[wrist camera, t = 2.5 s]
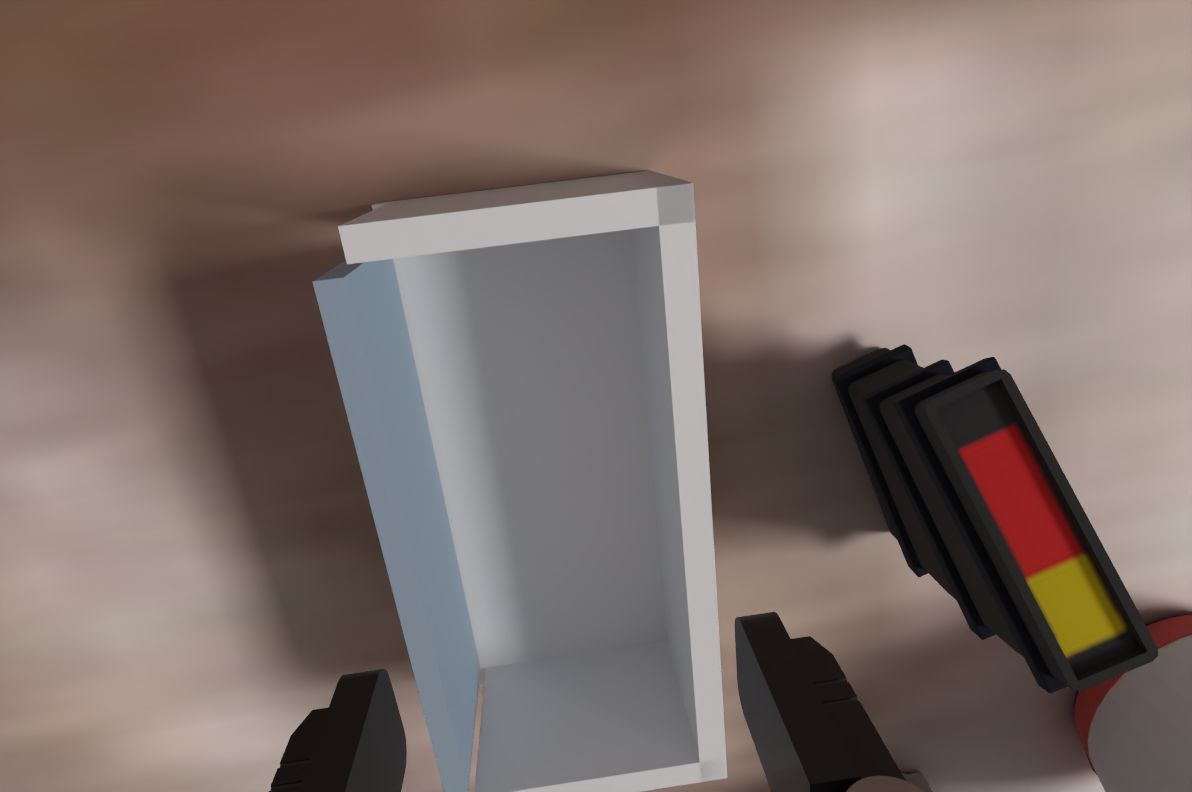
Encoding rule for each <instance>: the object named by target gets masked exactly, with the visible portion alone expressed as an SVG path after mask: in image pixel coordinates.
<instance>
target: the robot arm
mask: <svg viewBox="0 0 1192 792" xmlns="http://www.w3.org/2000/svg"><path fill="white" fill-rule="evenodd" d="M735 641H736V661H737V681H738V690H739V696H740V701H741V705H742V709H743V713H744V716H745V719H746V722H747V725H748V728H749V730H750V733H751V736H752V739H753V741H754V744H755V747H756V750H757V752H758V755H759V758H760V761H761V763H762V766H763V769H764V772H765V774H766V777H767V780H768V783H769V785H770V788H771V791H772V792H932V790H931V788H930V787H929V785H928V783H927V782H926V780H925V778H924V777H923V775H922V774H921V773H912V774H904V773H901V772H900V770H899V769H898V767H897V765H896V763H895V762H894V760H893V758H892V756H891V755H890V753H889V751H888V750H887V748H886V746H885V744H884V743H883V741H882V739H881V737H880V736H879V734H878V732H877V730H876V729H875V727H874V725H873V724H872V722H871V720H870V718H869V717H868V715H867V713H866V711H865V710H864V708H863V706H862V704H861V703H860V701H859V702H858V700H857V696H856V694H855V692H854V691H853V689H852V687H851V685H850V684H849V682H847V681H846V677H845V675H844V673H843V672H842V670H841V668H840V666H839V665H838V663H837V661H836V659H835V658H834V656H833V654H831V653H830V652H829V651H828V650H826V649H825V648H824V647H823V646H821V645H820V644H819V643H818V642H816V641H815V640H814V639H813V638H811V637H810V636H809V637H802V638H796V639H790V637H789V635H788V633H787V631H786V629H785V627H784V625H783V623H782V622H781V620H780V618H779V616H778V614H777V613H776V612H770V613H764V614H757V615H750V616H743V617H737V618H736V619H735ZM405 768H406V738H405V732H404V728H403V724H402V721H401V717H400V714H399V710H398V706H397V703H396V699H395V696H394V692H393V688H392V685H391V681H390V678H389V675H388V673H387V671H386V670H385V669H380V670H374V671H367V672H360V673H354V674H347V675H343V676H342V677H341V678H340V679H339V681H338V684H337V687H336V689H335V692H334V695H333V698H332V701H331V703H330V706H329V708H323V709H317V710H312V711H311V713H310V714H309V715H308V716H307V717H306V718H305V720H304V721H303V722H302V723H301V724H300V726H299V727H298V728H297V729H296V730H295V732H294V733H293V734H292V735H291V737H290V740H289V742H288V745H287V747H286V749H285V752H284V754H283V757H282V759H281V762H280V768H278V769H277V772H276V774H275V777H274V779H273V782H272V784H271V791H269V792H401V788H402V783H403V778H404V773H405Z"/></svg>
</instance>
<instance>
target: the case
mask: <svg viewBox="0 0 1192 792" xmlns="http://www.w3.org/2000/svg"><path fill="white" fill-rule="evenodd" d="M371 206H372V211H370V212H368V213H366V214H364V215H362V216H359V217H357V218H355V219H353V220H351V221H348V222H346V223H344V224H342V225H340V226H338V229H339V233H340V237H341V241H342V246H343V250H344V254H345V258H346V262H347V264H354V263H363V262H371V261H379V260H387V259H393V262H394V266H395V271H396V276H397V281H398V285H399V290H400V295H401V299H402V304H403V309H404V313H405V318H406V323H407V327H408V332H409V337H410V341H411V346H412V351H413V355H414V360H415V365H416V369H417V374H418V379H419V383H420V388H421V393H422V397H423V402H424V407H425V411H426V416H427V421H428V425H429V430H430V435H431V439H432V444H433V449H434V453H435V458H436V463H437V467H438V472H439V477H440V481H441V486H442V491H443V495H444V500H445V505H446V509H447V514H448V519H449V523H450V528H451V533H452V537H453V542H454V547H455V551H456V556H457V561H458V565H459V570H460V575H461V579H462V584H463V589H464V593H465V598H466V603H467V607H468V612H469V617H470V621H471V626H472V631H473V635H474V640H475V645H476V649H477V654H478V659H479V664H480V677H479V686H484V693H483V704H482V715H481V726H480V737H479V749H478V760H477V771H476V782H475V792H641V791H647V790H654V789H660V788H667V787H673V786H679V785H686V784H692V783H699V782H705V781H711V780H718V779H724V778H727V765H726V747H725V730H724V712H723V695H722V678H721V660H720V643H719V625H718V608H717V590H716V573H715V556H714V538H713V521H712V503H711V486H710V468H709V451H708V433H707V416H706V399H705V381H704V364H703V346H702V329H701V311H700V294H699V277H698V259H697V242H696V224H695V207H694V189H693V183H691V182H688V181H684V180H681V179H677V178H674V177H671V176H667V175H664V174H660V173H657V172H653V171H650V170H648V171H640V172H631V173H623V174H615V175H606V176H598V177H590V178H582V179H573V180H565V181H557V182H548V183H540V184H532V185H524V186H515V187H507V188H499V189H490V190H482V191H474V192H466V193H457V194H449V195H441V196H432V197H424V198H416V199H407V200H399V201H391V202H383V203H376V204H373V205H371Z"/></svg>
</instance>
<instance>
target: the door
mask: <svg viewBox="0 0 1192 792" xmlns="http://www.w3.org/2000/svg"><path fill="white" fill-rule="evenodd" d="M312 282H313V286H314V290H315V293H316V297H317V301H318V305H319V309H320V313H321V317H322V321H323V324H324V328H325V332H326V336H327V340H328V344H329V348H330V352H331V355H332V359H333V363H334V367H335V371H336V375H337V379H338V382H339V386H340V390H341V394H342V398H343V402H344V406H345V410H346V413H347V417H348V421H349V425H350V429H351V433H352V437H353V440H354V444H355V448H356V452H357V456H358V460H359V464H360V468H361V471H362V475H363V479H364V483H365V487H366V491H367V495H368V499H369V502H370V506H371V510H372V514H373V518H374V522H375V526H376V529H377V533H378V537H379V541H380V545H381V549H382V553H383V557H384V560H385V564H386V568H387V572H388V576H389V580H390V584H391V587H392V591H393V595H394V599H395V603H396V607H397V611H398V615H399V618H400V622H401V626H402V630H403V634H404V638H405V642H406V646H407V649H408V653H409V657H410V661H411V665H412V669H413V673H414V676H415V680H416V684H417V688H418V692H419V696H420V700H421V704H422V707H423V711H424V715H425V719H426V723H427V727H428V731H429V734H430V738H431V742H432V746H433V750H434V754H435V758H436V762H437V765H438V769H439V773H440V777H441V781H442V785H443V789H444V792H468V786H469V776H470V766H471V756H472V746H473V736H474V727H475V717H476V707H477V697H478V687H479V677H480V664H479V659H478V654H477V649H476V645H475V640H474V635H473V631H472V626H471V621H470V617H469V612H468V607H467V603H466V598H465V593H464V589H463V584H462V579H461V575H460V570H459V565H458V561H457V556H456V551H455V547H454V542H453V537H452V533H451V528H450V523H449V519H448V514H447V509H446V505H445V500H444V495H443V491H442V486H441V481H440V477H439V472H438V467H437V463H436V458H435V453H434V449H433V444H432V439H431V435H430V430H429V425H428V421H427V416H426V411H425V407H424V402H423V397H422V393H421V388H420V383H419V379H418V374H417V369H416V365H415V360H414V355H413V351H412V346H411V341H410V337H409V332H408V327H407V323H406V318H405V313H404V309H403V304H402V299H401V295H400V290H399V285H398V281H397V276H396V271H395V266H394V262H393V259H387V260H379V261H371V262H363V263H354V264H347V262H346V260H344V261H343V262H341V263H340V264H338V265H337V266H335V267H334V268H332V269H331V270H329V271H328V272H326V273H325V274H323V275H322V276H320V277H318V278H317V279H315V280H314V281H312Z"/></svg>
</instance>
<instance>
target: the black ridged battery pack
mask: <svg viewBox="0 0 1192 792" xmlns="http://www.w3.org/2000/svg"><path fill="white" fill-rule="evenodd" d="M832 381H833V383H834V385H835V388H836V391H837V393H838V396H839V398H840V401H841V404H842V406H843V409H844V412H845V414H846V417H847V419H848V422H849V425H850V427H851V430H852V433H853V435H854V438H855V441H856V443H857V446H858V448H859V451H860V454H861V456H862V459H863V462H864V464H865V467H866V469H867V472H868V475H869V477H870V480H871V483H872V485H873V488H874V491H875V493H876V496H877V498H878V501H879V504H880V506H881V509H882V512H883V514H884V517H885V519H886V522H887V525H888V527H889V530H890V532H891V534H892V535H893V536H894V537H895V538H896V539H897V540H898V542H899V544H900V547H901V549H902V552H903V554H904V557H905V559H906V562H907V564H908V566H909V567H910V568H911V570H912V571H913V572H914V573H915V574H916V575H917V576H918V577H921V576H923V575H925V574H928V573H929V574H930V575H931V576H932V577H933V578H934V579H935V580H936V581H937V582H938V583H939V584H940V585H941V586H942V587H943V588H944V589H945V590H946V591H947V592H948V593H949V594H950V595H951V596H953V597H954V598H955V599H956V600H957V602H958V604H959V606H960V608H961V610H962V612H963V614H964V616H965V618H966V621H967V623H968V625H969V627H970V629H971V630H972V631H973V632H974V633H975V634H976V635H978V636H979V637H980V638H981V639H982V640H984V639H986V638H988V637H991V636H993V635H995V634H996V635H997V636H999V637H1000V638H1001V639H1002V640H1003V641H1005V642H1006V643H1007V644H1008V645H1009V646H1010V647H1012V648H1013V649H1014V650H1015V651H1016V652H1018V653H1019V654H1021V655H1022V656H1024V658H1025V660H1026V662H1027V664H1028V666H1029V668H1030V670H1031V671H1032V673H1033V675H1034V677H1035V679H1036V681H1037V683H1038V685H1039V686H1040V687H1042V688H1043V689H1045V690H1046V691H1047V692H1049V693H1053V692H1055V691H1058V690H1060V689H1062V688H1065V687H1067V686H1069V687H1070V688H1072V689H1073V690H1085V689H1088V688H1090V687H1093V686H1095V685H1097V684H1100V683H1102V682H1105V681H1107V680H1109V679H1112V678H1114V677H1116V676H1119V675H1121V674H1124V673H1126V672H1128V671H1131V670H1133V669H1136V668H1138V667H1140V666H1143V665H1145V664H1148V663H1150V662H1152V661H1154V659H1155V658H1156V657H1157V656H1158V648H1157V646H1156V644H1155V642H1154V640H1153V638H1152V636H1151V635H1150V633H1149V631H1148V629H1147V627H1146V625H1145V623H1144V622H1143V620H1142V618H1141V616H1140V614H1139V612H1138V610H1137V609H1136V607H1135V605H1134V603H1133V601H1132V599H1131V597H1130V596H1129V594H1128V592H1127V590H1126V588H1125V586H1124V584H1123V582H1122V581H1121V579H1120V577H1119V575H1118V573H1117V571H1116V569H1115V568H1114V566H1113V564H1112V562H1111V560H1110V558H1109V556H1108V555H1107V553H1106V551H1105V549H1104V547H1103V545H1102V543H1101V542H1100V540H1099V538H1098V536H1097V534H1096V532H1095V530H1094V529H1093V527H1092V525H1091V523H1090V521H1089V519H1088V517H1087V516H1086V514H1085V512H1084V510H1083V508H1082V506H1081V504H1080V503H1079V501H1078V499H1077V497H1076V495H1075V493H1074V491H1073V490H1072V488H1071V486H1070V484H1069V482H1068V480H1067V478H1066V477H1065V475H1064V473H1063V471H1062V469H1061V467H1060V465H1059V464H1058V462H1057V460H1056V458H1055V456H1054V454H1053V452H1052V451H1051V449H1050V447H1049V445H1048V443H1047V441H1046V439H1045V438H1044V436H1043V434H1042V432H1041V430H1040V428H1039V426H1038V425H1037V423H1036V421H1035V419H1034V417H1033V415H1032V413H1031V412H1030V410H1029V408H1028V406H1027V404H1026V402H1025V400H1024V399H1023V397H1022V395H1021V393H1020V391H1019V389H1018V387H1017V386H1016V384H1015V382H1014V380H1013V378H1012V376H1011V374H1009V373H1008V372H1007V371H1006V370H1001V368H1000V366H999V364H998V362H997V361H996V359H995V358H994V357H990V358H986V359H983V360H981V361H978V362H976V363H974V364H972V365H970V366H968V367H966V368H963V369H961V370H959V371H957V372H955V373H954V371H953V369H952V367H951V365H950V363H949V361H947V360H940V361H938V362H936V363H934V364H932V365H929V366H927V367H925V368H923V367H920V366H918V365H917V362H916V359H915V357H914V354H913V352H912V349H911V348H910V347H909V346H907V345H902V346H899V347H897V348H895V349H893V350H891V351H890V350H889V349H887V348H881V349H878V350H876V351H874V352H872V353H870V354H868V355H866V356H863V357H861V358H859V359H857V360H855V361H853V362H851V363H849V364H847V365H845V366H842V367H840V368H838V369H836V370H834V371H833V372H832Z"/></svg>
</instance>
